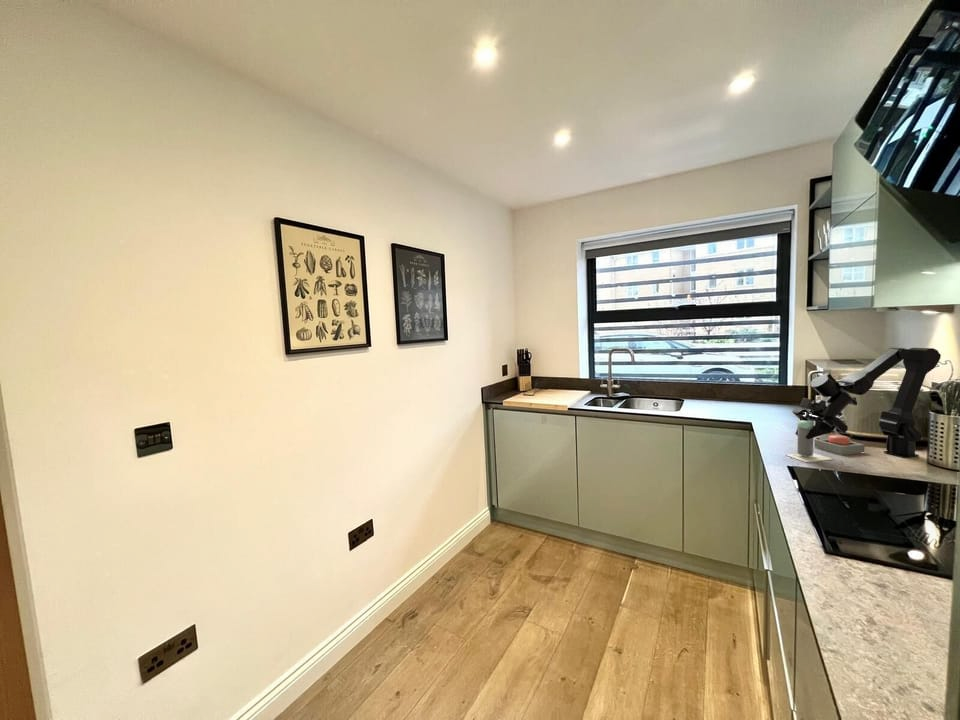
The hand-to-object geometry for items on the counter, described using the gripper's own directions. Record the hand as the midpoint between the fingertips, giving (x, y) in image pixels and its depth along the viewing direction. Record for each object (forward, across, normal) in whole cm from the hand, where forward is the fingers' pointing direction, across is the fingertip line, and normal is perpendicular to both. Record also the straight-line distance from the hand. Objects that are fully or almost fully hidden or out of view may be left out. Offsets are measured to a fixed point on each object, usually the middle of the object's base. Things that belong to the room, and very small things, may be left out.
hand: (801, 436), depth 144 cm
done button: (-9, -7, +18) cm, 22 cm away
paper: (+4, 0, +7) cm, 8 cm away
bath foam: (-13, -23, +25) cm, 36 cm away
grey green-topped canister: (+4, 0, +6) cm, 7 cm away
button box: (-8, -7, +19) cm, 22 cm away
